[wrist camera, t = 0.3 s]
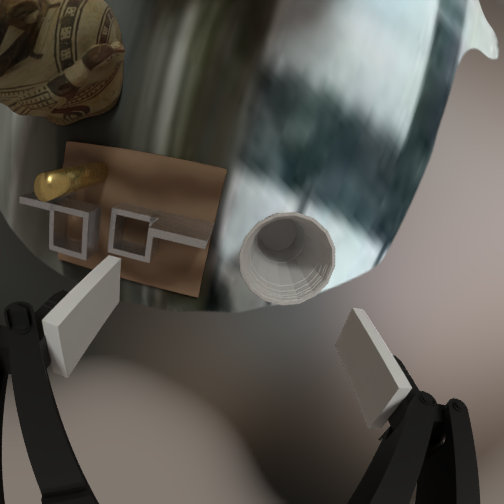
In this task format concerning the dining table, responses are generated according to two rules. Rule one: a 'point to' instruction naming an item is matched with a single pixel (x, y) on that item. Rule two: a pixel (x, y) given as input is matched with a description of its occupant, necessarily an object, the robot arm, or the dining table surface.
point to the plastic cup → (287, 258)
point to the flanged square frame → (59, 224)
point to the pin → (69, 180)
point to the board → (151, 196)
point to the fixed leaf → (155, 231)
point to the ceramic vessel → (60, 58)
